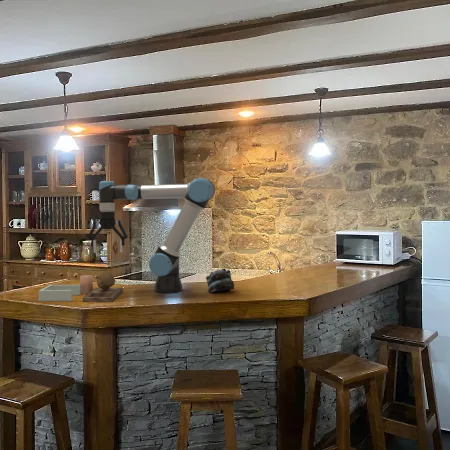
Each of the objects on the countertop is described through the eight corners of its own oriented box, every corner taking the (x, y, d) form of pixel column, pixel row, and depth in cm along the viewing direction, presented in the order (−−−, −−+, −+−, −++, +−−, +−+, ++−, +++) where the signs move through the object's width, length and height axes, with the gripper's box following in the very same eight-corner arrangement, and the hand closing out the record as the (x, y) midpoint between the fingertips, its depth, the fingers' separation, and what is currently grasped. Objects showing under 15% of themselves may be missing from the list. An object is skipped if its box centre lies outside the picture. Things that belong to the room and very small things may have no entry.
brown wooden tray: (122, 291, 254) (122, 287, 254) (112, 301, 228) (112, 297, 228) (96, 291, 254) (96, 287, 254) (82, 301, 228) (82, 297, 228)
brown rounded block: (94, 291, 253) (94, 275, 253) (91, 294, 247) (91, 276, 246) (82, 291, 253) (82, 275, 253) (78, 294, 247) (78, 276, 246)
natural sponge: (117, 288, 251) (117, 270, 250) (111, 292, 242) (111, 272, 242) (100, 288, 252) (100, 269, 251) (94, 291, 243) (94, 272, 243)
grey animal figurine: (204, 293, 249) (200, 268, 255) (212, 298, 260) (207, 274, 265) (232, 286, 246) (227, 261, 252) (238, 291, 257) (233, 267, 262)
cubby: (80, 294, 246) (80, 284, 246) (71, 301, 230) (71, 290, 230) (50, 294, 246) (50, 284, 245) (38, 301, 230) (38, 290, 229)
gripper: (132, 210, 249) (133, 251, 250) (84, 211, 249) (85, 252, 250) (130, 211, 242) (131, 252, 243) (80, 211, 241) (81, 253, 242)
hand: (108, 252), depth 246 cm, fingers open, 13 cm apart
